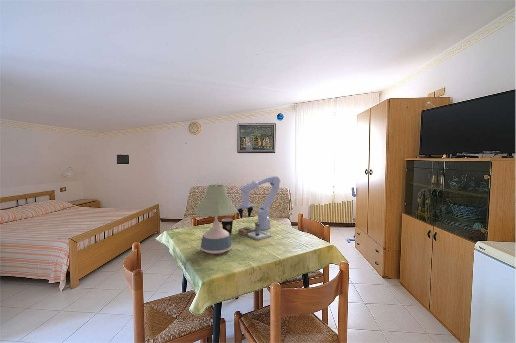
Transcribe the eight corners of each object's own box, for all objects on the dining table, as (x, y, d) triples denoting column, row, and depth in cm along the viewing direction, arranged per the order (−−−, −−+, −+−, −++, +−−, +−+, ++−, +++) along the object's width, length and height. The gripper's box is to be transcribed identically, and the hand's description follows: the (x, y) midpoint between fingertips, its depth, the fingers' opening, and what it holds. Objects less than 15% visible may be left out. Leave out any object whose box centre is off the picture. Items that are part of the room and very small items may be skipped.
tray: (260, 232, 189) (260, 230, 189) (270, 236, 179) (270, 234, 179) (247, 235, 181) (247, 233, 181) (257, 240, 172) (257, 237, 172)
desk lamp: (195, 261, 135) (195, 186, 133) (194, 244, 163) (193, 181, 160) (241, 256, 143) (241, 185, 140) (232, 240, 170) (232, 180, 168)
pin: (256, 233, 184) (257, 222, 183) (261, 235, 181) (261, 222, 181) (253, 235, 180) (253, 223, 180) (258, 236, 178) (258, 224, 177)
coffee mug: (234, 231, 192) (234, 218, 191) (231, 234, 183) (231, 221, 183) (219, 230, 193) (219, 218, 192) (216, 234, 184) (216, 221, 184)
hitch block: (248, 230, 193) (248, 226, 193) (255, 233, 187) (255, 229, 187) (238, 233, 187) (238, 229, 187) (244, 235, 181) (244, 231, 181)
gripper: (249, 198, 201) (249, 215, 202) (234, 200, 192) (234, 217, 193) (255, 199, 196) (254, 216, 196) (240, 201, 187) (239, 219, 187)
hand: (245, 217), depth 194 cm, fingers open, 7 cm apart
